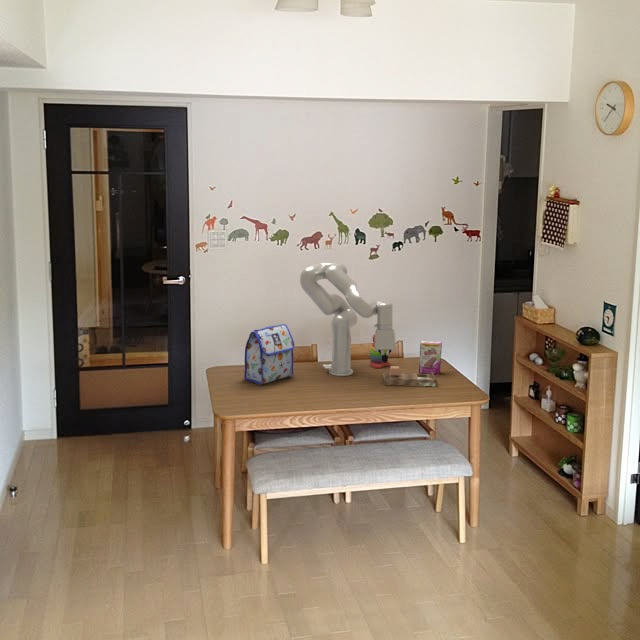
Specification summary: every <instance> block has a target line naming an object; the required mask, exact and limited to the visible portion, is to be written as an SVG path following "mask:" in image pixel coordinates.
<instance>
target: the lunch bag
mask: <svg viewBox="0 0 640 640" xmlns="http://www.w3.org/2000/svg"><path fill="white" fill-rule="evenodd" d="M249 333H250V334H249V336H248V339H247V341H246V344H245V347H244V358H243V359H244V375H243V378H244V380H246V381H248V382H252V383H255V384H258V385H260V386H262V385H264V384H268V383H270V382H274V381H278V380H281V379H285V378H288V377H292V376H294V349H295V341H294V338H293V336H292V334H291V332H290V329H289V327H288V326H287V324H284V323H283V324H278V325H271V326H270V325H269V326H265V327H263V328H260V329H254V330H253V331H251V332H249Z"/></svg>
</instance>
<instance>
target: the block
mask: <svg viewBox="0 0 640 640" xmlns="http://www.w3.org/2000/svg"><path fill="white" fill-rule="evenodd" d="M389 367H390V369H389V370H390V371H389V373H390V375H391V376H393V375H396V376H399V373H400V366H397V365H396V366H395V365H390V366H389Z"/></svg>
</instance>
